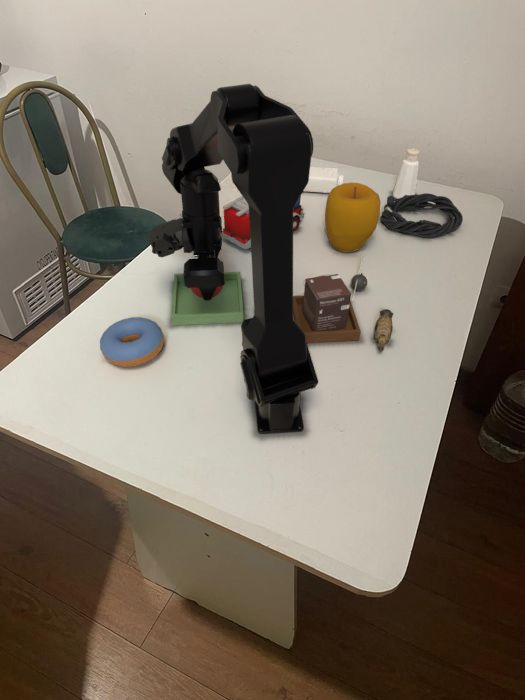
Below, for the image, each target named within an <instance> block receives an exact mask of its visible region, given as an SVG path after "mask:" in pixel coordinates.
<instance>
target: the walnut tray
mask: <svg viewBox="0 0 525 700" xmlns="http://www.w3.org/2000/svg"><path fill="white" fill-rule="evenodd" d="M303 300H304V294H303V295H293V320H294V321H295V322H296V324H297V325H298V326H299V328H300V329H301V330H302V331H303V333H304V334H305V336H306V343H307V344H313V343H314V344H316V343H317V344H319V343H339V342H359V341H360V337H361V328H360V325H359V322H358V319H357V317H356V313H355V310H354V307H353V304H352V299H350V306H349V312H348V318H347V324H346V327H345V328H341V329H337V330H331V331H312V329H311V327H310V325H309V323H308V321H307V320H306V318H305V316H304V314H303V312H302V310H303Z"/></svg>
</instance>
